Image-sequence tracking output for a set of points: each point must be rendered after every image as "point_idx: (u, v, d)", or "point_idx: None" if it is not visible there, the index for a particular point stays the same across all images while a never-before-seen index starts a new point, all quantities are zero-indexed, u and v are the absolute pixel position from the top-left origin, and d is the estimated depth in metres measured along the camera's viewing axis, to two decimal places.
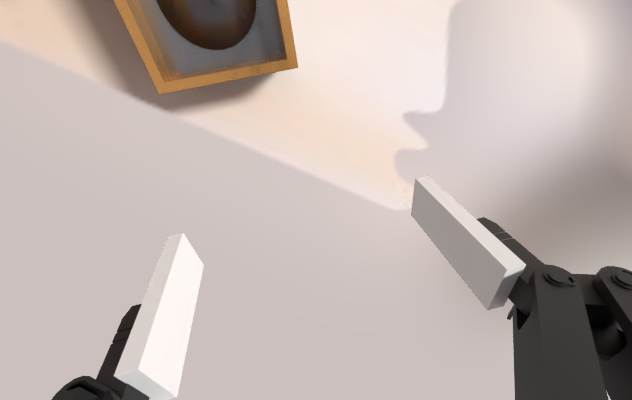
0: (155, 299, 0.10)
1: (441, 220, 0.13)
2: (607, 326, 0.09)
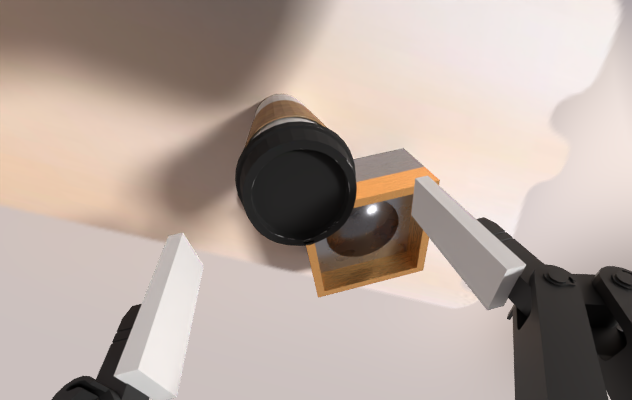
0: (155, 299, 0.10)
1: (442, 220, 0.13)
2: (607, 325, 0.09)
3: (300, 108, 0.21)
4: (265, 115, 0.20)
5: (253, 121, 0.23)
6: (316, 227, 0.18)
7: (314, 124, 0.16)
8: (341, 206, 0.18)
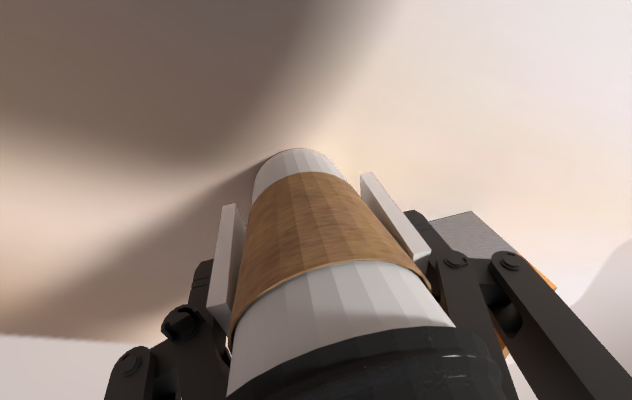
0: (225, 253, 0.12)
1: (377, 213, 0.14)
2: (506, 303, 0.10)
3: (346, 204, 0.10)
4: (277, 230, 0.09)
5: (252, 211, 0.13)
6: None
7: (427, 332, 0.06)
8: None
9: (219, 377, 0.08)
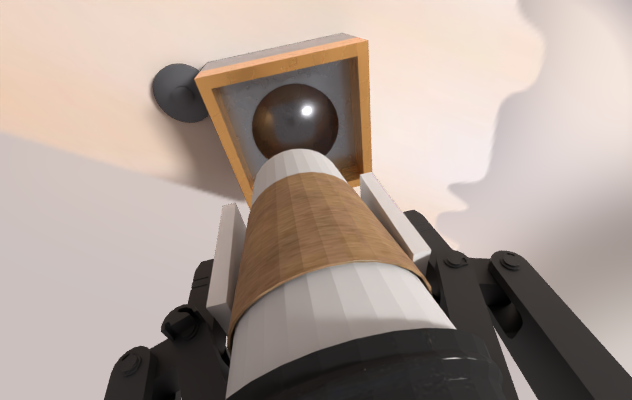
0: (225, 253, 0.12)
1: (377, 213, 0.14)
2: (506, 303, 0.10)
3: (346, 205, 0.10)
4: (277, 231, 0.09)
5: (252, 212, 0.13)
6: None
7: (427, 334, 0.06)
8: None
9: (219, 377, 0.08)
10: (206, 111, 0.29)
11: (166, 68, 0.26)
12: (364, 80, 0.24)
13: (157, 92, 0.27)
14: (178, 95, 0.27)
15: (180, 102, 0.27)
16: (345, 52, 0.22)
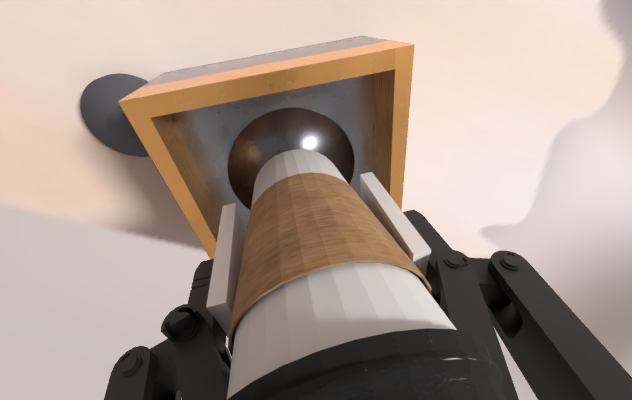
0: (225, 253, 0.12)
1: (377, 212, 0.14)
2: (507, 303, 0.10)
3: (346, 206, 0.10)
4: (278, 231, 0.09)
5: (252, 212, 0.13)
6: None
7: (428, 335, 0.06)
8: None
9: (219, 377, 0.08)
10: None
11: (99, 80, 0.17)
12: (401, 107, 0.15)
13: (88, 114, 0.18)
14: (118, 120, 0.18)
15: (122, 130, 0.19)
16: (376, 62, 0.13)
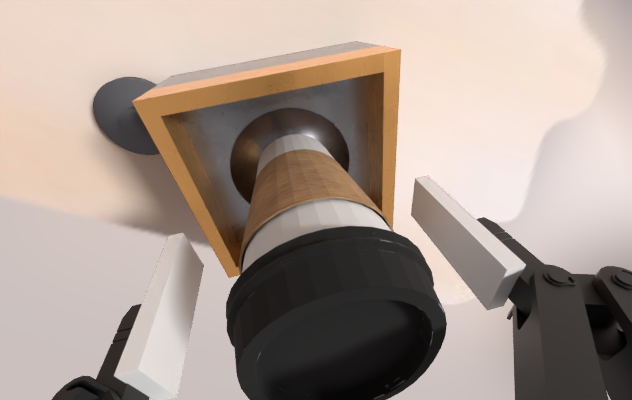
0: (155, 299, 0.10)
1: (442, 220, 0.13)
2: (607, 325, 0.09)
3: (330, 169, 0.13)
4: (276, 185, 0.12)
5: (257, 180, 0.16)
6: (363, 381, 0.11)
7: (372, 230, 0.09)
8: (409, 352, 0.10)
9: None
10: None
11: (111, 83, 0.19)
12: (391, 106, 0.16)
13: (100, 114, 0.20)
14: (128, 120, 0.19)
15: (131, 130, 0.20)
16: (367, 66, 0.15)
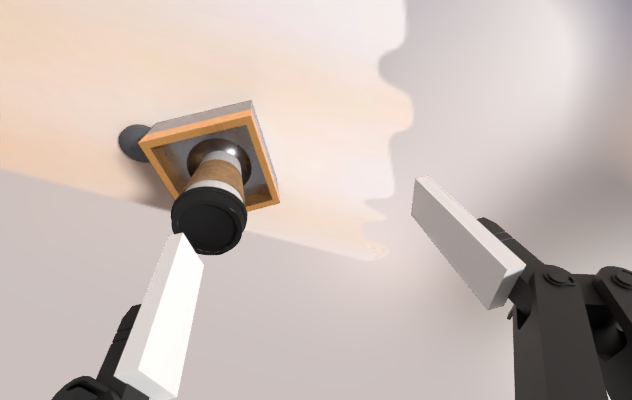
0: (155, 299, 0.10)
1: (442, 220, 0.13)
2: (607, 325, 0.09)
3: (218, 168, 0.33)
4: (194, 175, 0.32)
5: None
6: (224, 243, 0.31)
7: (212, 187, 0.28)
8: (236, 231, 0.30)
9: None
10: None
11: (127, 128, 0.39)
12: (254, 138, 0.36)
13: (122, 143, 0.40)
14: (136, 146, 0.39)
15: (138, 150, 0.40)
16: (237, 122, 0.34)
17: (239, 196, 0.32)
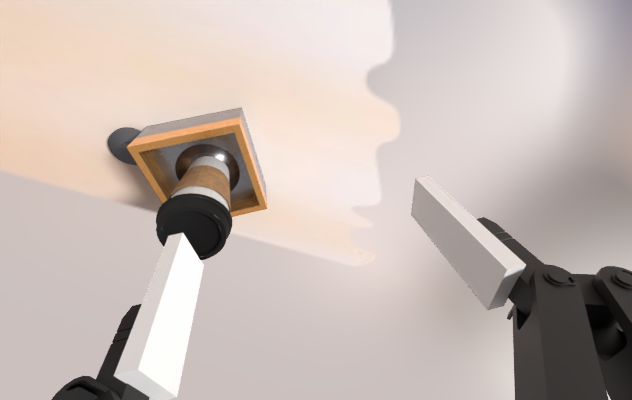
0: (155, 299, 0.10)
1: (442, 220, 0.13)
2: (607, 325, 0.09)
3: (205, 174, 0.34)
4: (181, 181, 0.33)
5: None
6: (208, 249, 0.31)
7: (197, 194, 0.29)
8: (220, 237, 0.31)
9: None
10: None
11: (117, 131, 0.39)
12: (243, 145, 0.37)
13: (111, 145, 0.40)
14: (125, 148, 0.40)
15: (127, 153, 0.40)
16: (225, 130, 0.35)
17: (225, 203, 0.32)
